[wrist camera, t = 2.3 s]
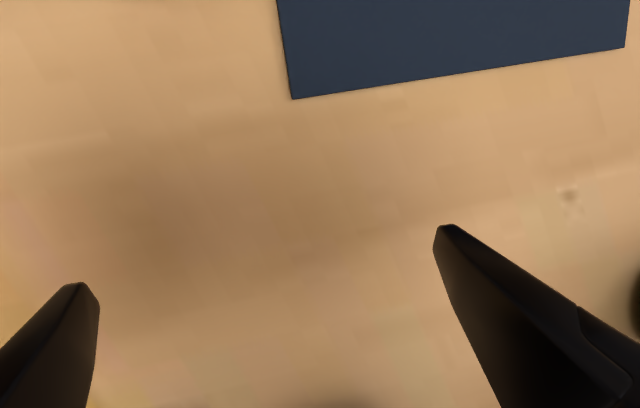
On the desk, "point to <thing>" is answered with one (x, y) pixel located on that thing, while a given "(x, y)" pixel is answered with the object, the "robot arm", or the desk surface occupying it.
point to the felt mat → (434, 38)
